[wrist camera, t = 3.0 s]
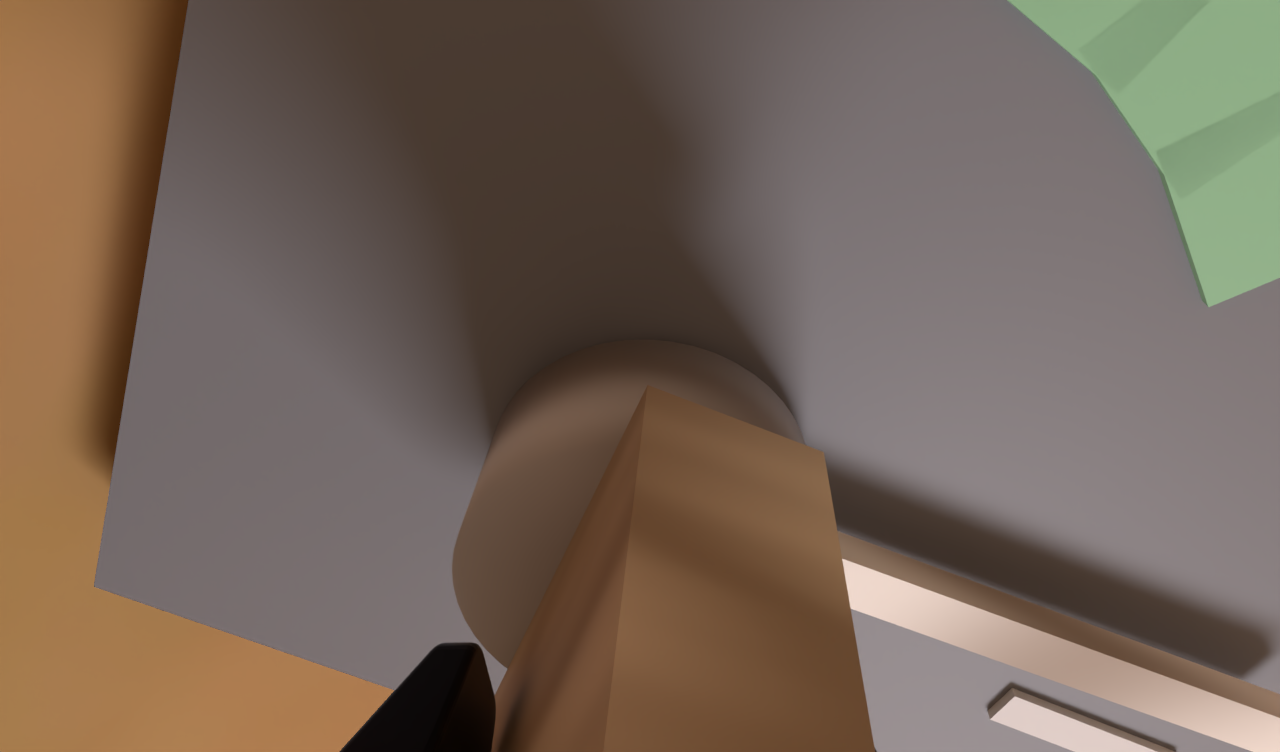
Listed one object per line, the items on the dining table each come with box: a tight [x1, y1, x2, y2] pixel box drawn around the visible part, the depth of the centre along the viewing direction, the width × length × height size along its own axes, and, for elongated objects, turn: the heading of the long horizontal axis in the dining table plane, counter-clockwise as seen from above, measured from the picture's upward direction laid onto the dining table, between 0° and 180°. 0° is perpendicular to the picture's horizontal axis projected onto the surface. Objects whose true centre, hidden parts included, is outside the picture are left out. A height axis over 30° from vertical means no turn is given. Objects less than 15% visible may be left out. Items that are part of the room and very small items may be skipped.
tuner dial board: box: [94, 0, 1280, 752], centre depth 11 cm, size 17×19×2 cm
